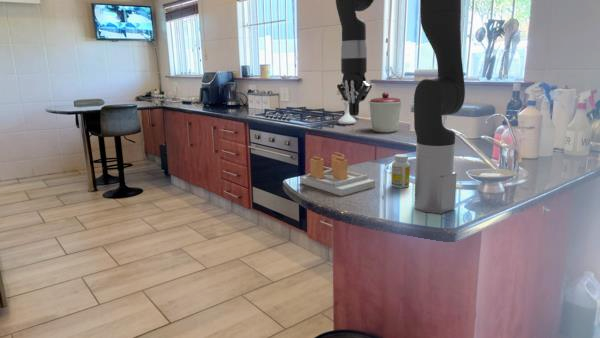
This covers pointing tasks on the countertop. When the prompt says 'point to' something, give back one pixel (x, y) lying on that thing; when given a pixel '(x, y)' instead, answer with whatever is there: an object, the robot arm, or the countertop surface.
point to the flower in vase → (346, 114)
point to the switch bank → (340, 183)
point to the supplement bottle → (400, 171)
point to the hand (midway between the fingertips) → (353, 115)
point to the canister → (385, 113)
